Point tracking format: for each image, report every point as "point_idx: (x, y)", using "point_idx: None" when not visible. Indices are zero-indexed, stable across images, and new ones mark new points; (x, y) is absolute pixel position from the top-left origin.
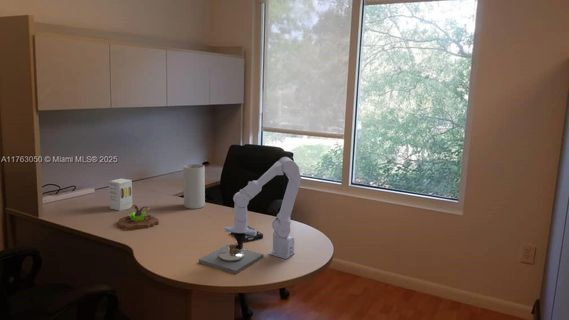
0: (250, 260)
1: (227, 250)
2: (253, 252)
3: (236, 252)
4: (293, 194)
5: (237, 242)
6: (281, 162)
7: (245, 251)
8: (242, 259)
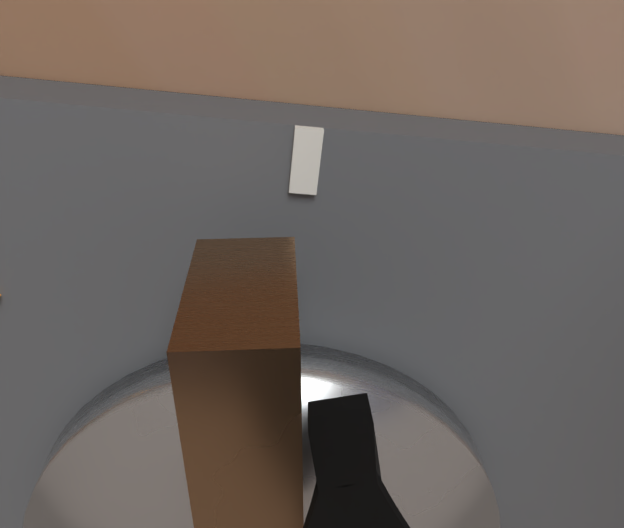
0: (621, 487)
1: (99, 506)
2: (575, 193)
3: None
4: None
5: (204, 500)
6: None
7: (377, 230)
8: None
